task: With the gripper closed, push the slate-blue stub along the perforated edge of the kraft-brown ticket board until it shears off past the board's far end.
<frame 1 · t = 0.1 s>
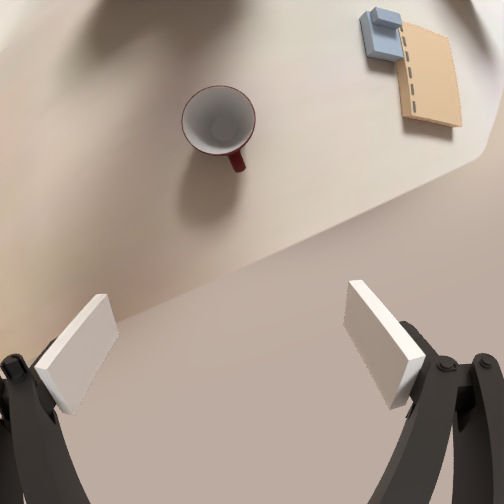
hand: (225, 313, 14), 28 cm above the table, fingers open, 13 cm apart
mug: (228, 136, 37), on the table
ticket board: (423, 74, 33), on the table
stub: (384, 33, 29), point 3 cm above the table, slide at 0.0 cm
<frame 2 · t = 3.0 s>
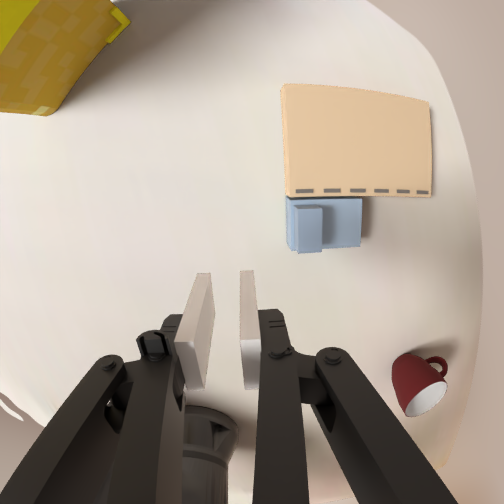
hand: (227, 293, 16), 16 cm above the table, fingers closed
mug: (407, 357, 40), on the table
ticket board: (358, 142, 29), on the table
stub: (326, 223, 29), point 3 cm above the table, slide at 0.0 cm
book: (74, 62, 24), on the table
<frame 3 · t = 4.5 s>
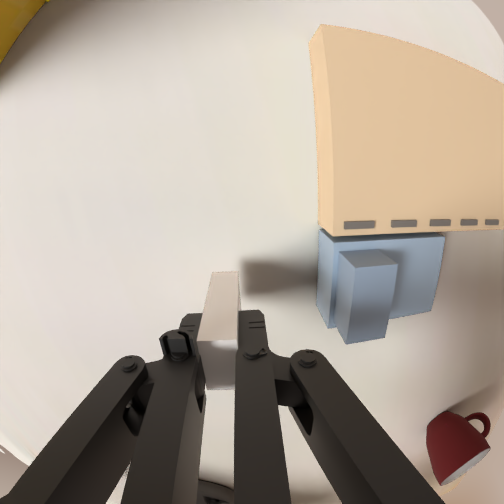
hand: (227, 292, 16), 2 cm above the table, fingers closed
mug: (444, 414, 27), on the table
ticket board: (431, 140, 16), on the table
stub: (389, 280, 16), point 3 cm above the table, slide at 0.0 cm
book: (5, 35, 10), on the table
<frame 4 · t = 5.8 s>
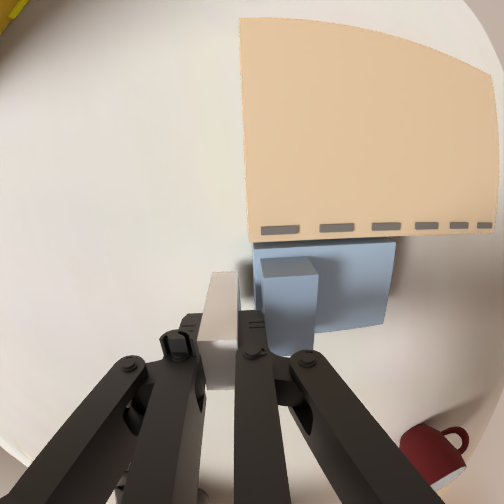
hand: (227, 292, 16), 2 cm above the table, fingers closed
mug: (420, 427, 27), on the table
ticket board: (384, 133, 15), on the table
stub: (326, 289, 15), point 3 cm above the table, slide at 0.2 cm, touching gripper
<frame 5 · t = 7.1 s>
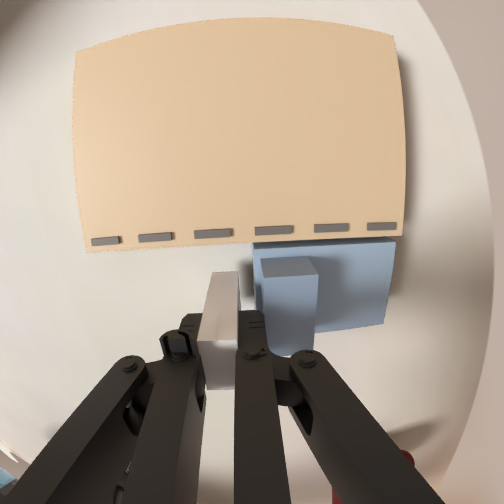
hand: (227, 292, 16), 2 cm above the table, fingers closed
ticket board: (237, 128, 15), on the table
stub: (326, 289, 15), point 3 cm above the table, slide at 9.5 cm, touching gripper
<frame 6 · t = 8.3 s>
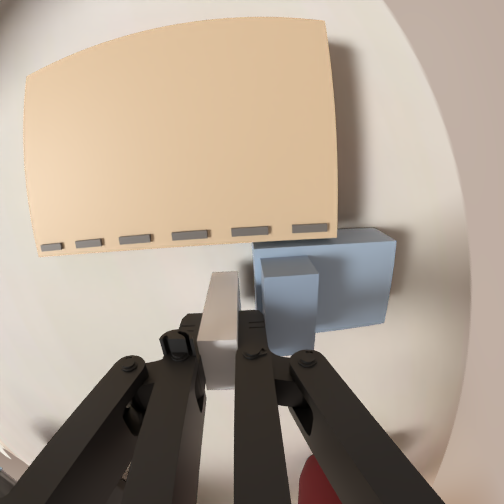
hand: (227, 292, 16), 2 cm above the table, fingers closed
mug: (331, 452, 26), on the table
ticket board: (167, 135, 15), on the table
stub: (327, 289, 15), point 3 cm above the table, slide at 13.6 cm, touching gripper
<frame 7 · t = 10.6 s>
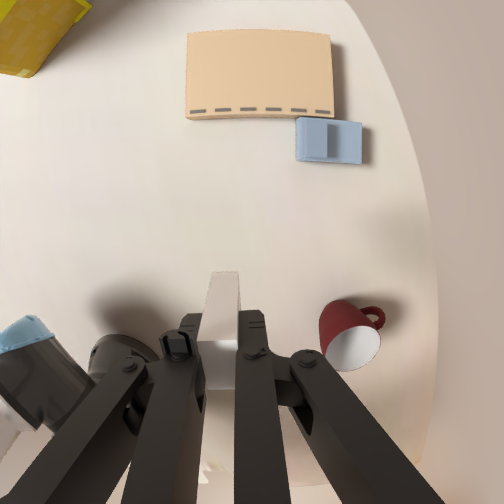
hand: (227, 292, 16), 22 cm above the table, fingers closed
mug: (341, 307, 43), on the table
ticket board: (259, 75, 31), on the table
stub: (331, 140, 31), point 3 cm above the table, slide at 13.6 cm
book: (52, 37, 26), on the table
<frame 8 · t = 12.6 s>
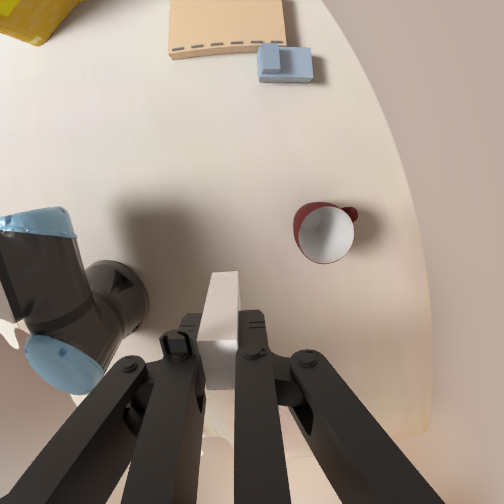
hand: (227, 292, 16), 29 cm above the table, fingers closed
mug: (315, 215, 45), on the table
ticket board: (226, 24, 34), on the table
stub: (285, 61, 34), point 3 cm above the table, slide at 13.6 cm
book: (60, 14, 29), on the table
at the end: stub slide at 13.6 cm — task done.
